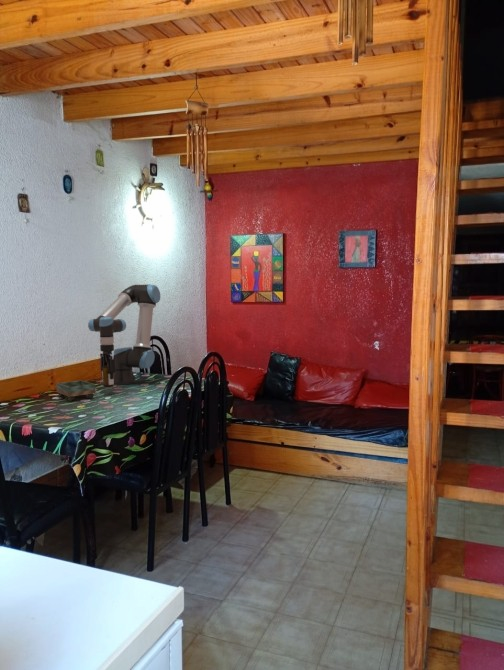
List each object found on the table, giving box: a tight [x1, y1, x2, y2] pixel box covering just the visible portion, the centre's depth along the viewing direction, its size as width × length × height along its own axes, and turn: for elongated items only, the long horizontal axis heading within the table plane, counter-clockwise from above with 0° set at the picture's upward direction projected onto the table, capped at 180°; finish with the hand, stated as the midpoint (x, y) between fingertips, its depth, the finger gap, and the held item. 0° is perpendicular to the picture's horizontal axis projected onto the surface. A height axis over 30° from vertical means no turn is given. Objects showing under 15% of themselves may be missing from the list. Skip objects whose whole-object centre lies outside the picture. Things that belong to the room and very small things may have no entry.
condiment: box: [100, 365, 118, 389], centre depth 307 cm, size 7×8×12 cm
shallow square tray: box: [56, 379, 96, 402], centre depth 298 cm, size 15×17×8 cm
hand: (108, 383), depth 308 cm, fingers closed on condiment, 6 cm apart
